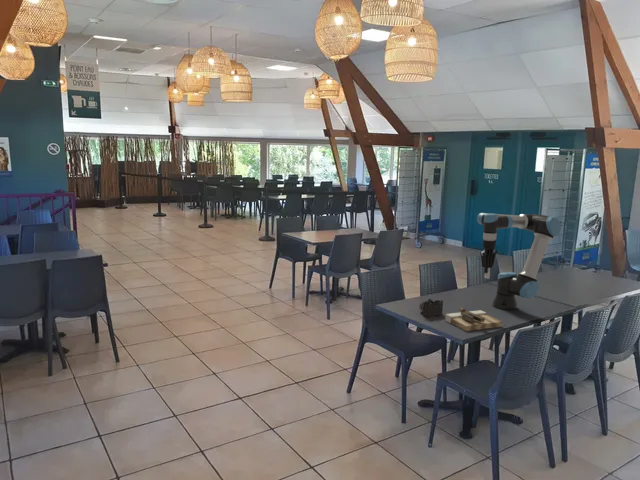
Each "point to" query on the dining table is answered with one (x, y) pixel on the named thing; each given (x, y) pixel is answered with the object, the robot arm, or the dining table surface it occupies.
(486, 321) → the door slab
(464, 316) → the bar
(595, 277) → the dining table surface
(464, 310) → the swing bar
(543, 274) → the dining table surface
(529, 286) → the robot arm
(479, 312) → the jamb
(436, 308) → the camera
